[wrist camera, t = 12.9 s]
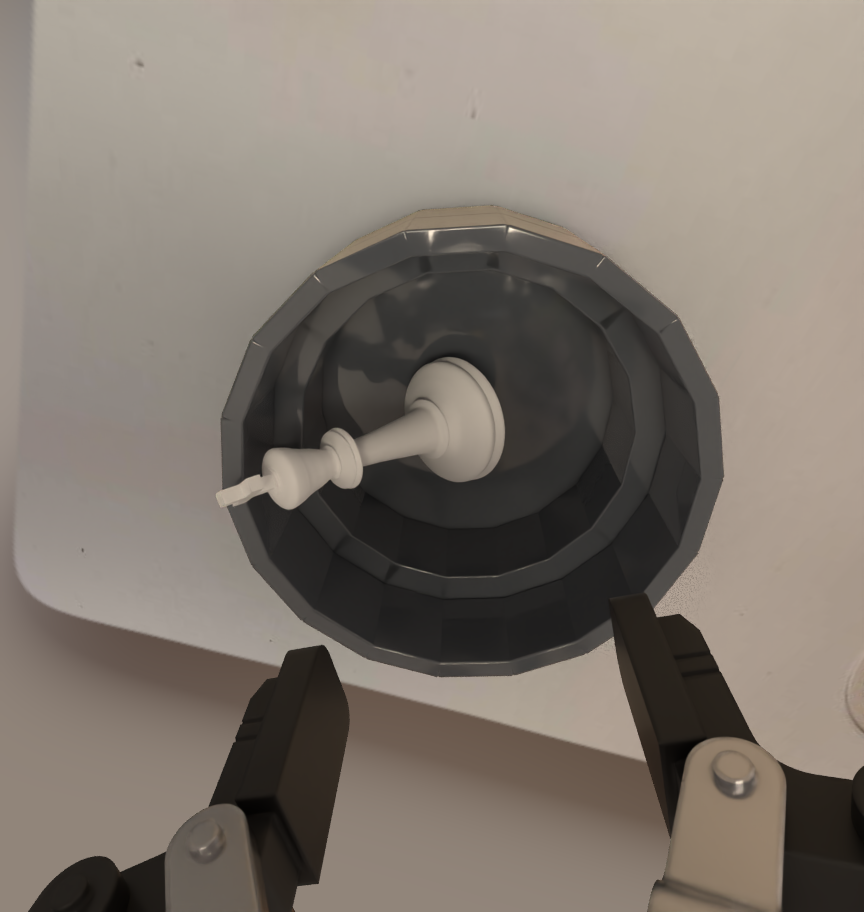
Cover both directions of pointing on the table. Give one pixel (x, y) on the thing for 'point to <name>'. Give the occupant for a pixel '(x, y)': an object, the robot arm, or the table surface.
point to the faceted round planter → (522, 460)
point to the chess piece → (395, 440)
